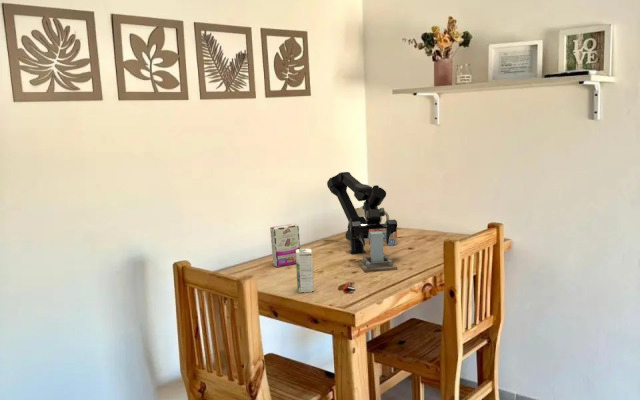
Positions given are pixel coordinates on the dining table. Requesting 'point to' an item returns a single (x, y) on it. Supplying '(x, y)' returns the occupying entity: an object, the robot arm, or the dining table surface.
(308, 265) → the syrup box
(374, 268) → the jig
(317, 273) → the dining table surface
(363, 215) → the teapot
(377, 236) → the block
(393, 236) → the stack of blocks
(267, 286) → the dining table surface
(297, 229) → the candy bar box
